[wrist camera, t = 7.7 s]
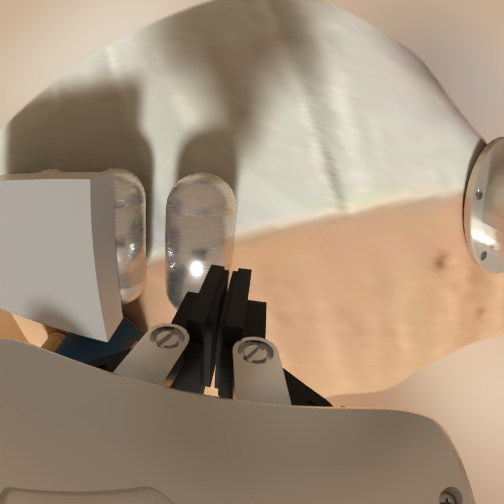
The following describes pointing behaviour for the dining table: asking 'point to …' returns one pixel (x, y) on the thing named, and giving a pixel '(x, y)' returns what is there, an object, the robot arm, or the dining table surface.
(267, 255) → the dining table surface
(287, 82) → the dining table surface
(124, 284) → the roller mid
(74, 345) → the soda can
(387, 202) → the dining table surface
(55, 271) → the slab
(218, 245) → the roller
